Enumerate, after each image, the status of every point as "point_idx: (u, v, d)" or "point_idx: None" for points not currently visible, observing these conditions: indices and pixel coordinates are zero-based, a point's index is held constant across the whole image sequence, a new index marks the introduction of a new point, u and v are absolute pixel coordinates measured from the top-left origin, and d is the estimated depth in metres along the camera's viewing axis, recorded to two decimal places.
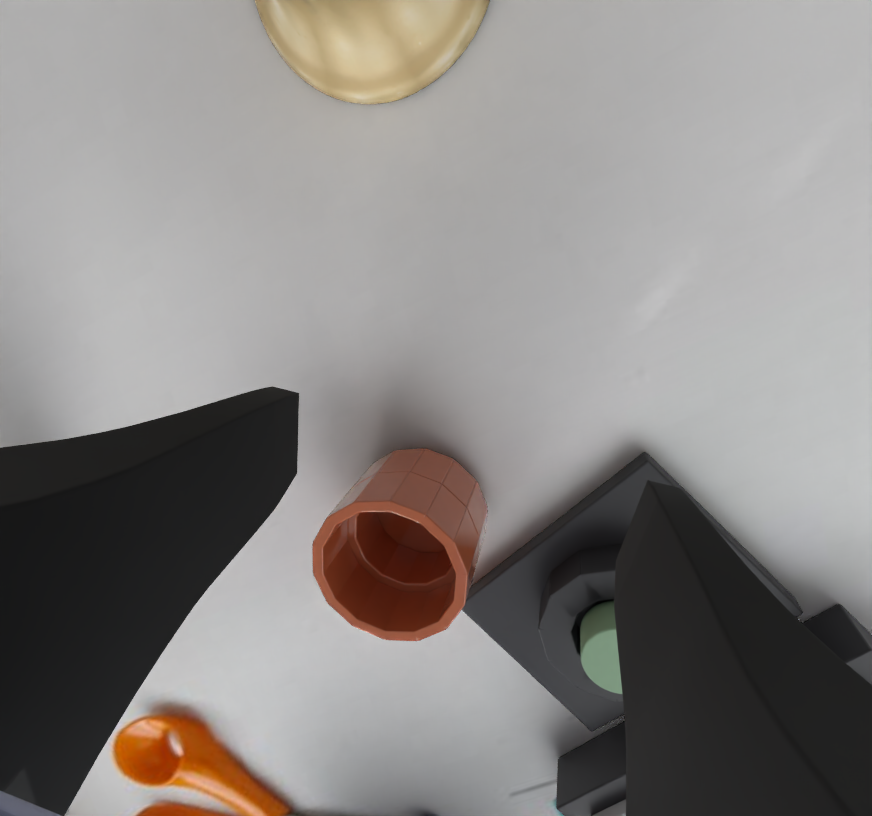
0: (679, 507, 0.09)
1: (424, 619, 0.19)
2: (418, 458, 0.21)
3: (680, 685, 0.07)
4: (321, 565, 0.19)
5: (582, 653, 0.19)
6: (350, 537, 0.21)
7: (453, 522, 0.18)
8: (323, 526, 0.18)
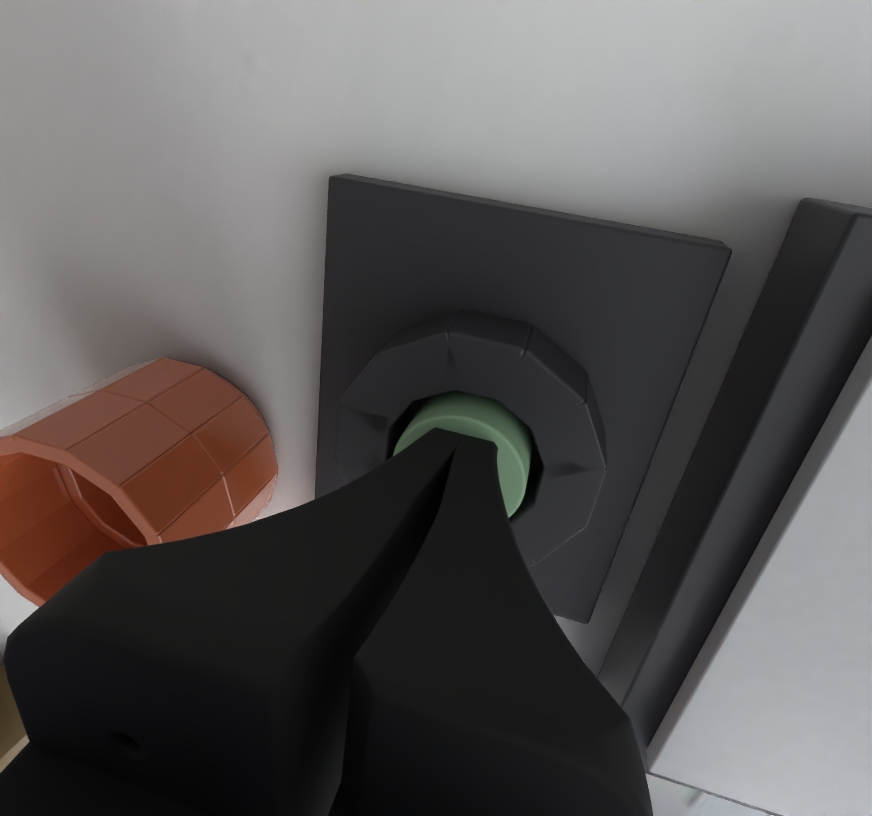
0: (472, 454, 0.10)
1: None
2: (103, 380, 0.14)
3: None
4: (13, 579, 0.13)
5: None
6: (97, 525, 0.15)
7: (87, 427, 0.11)
8: None
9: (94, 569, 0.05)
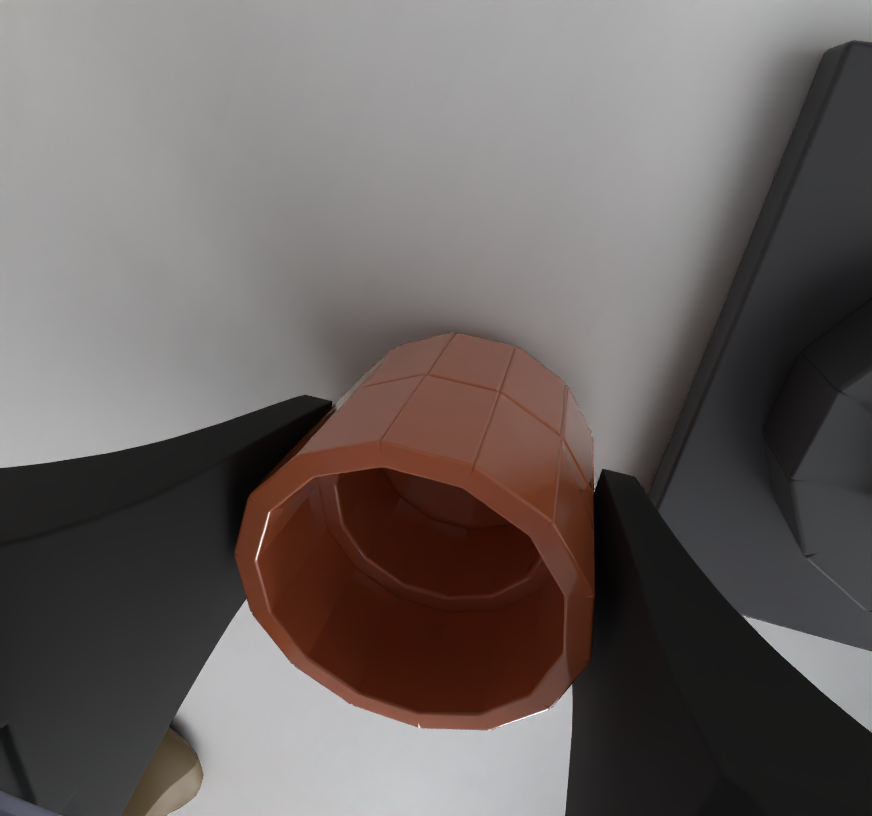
0: (627, 494, 0.09)
1: (541, 656, 0.09)
2: (383, 363, 0.10)
3: (613, 665, 0.07)
4: (293, 645, 0.09)
5: None
6: (357, 561, 0.11)
7: (466, 428, 0.07)
8: (242, 573, 0.09)
9: None
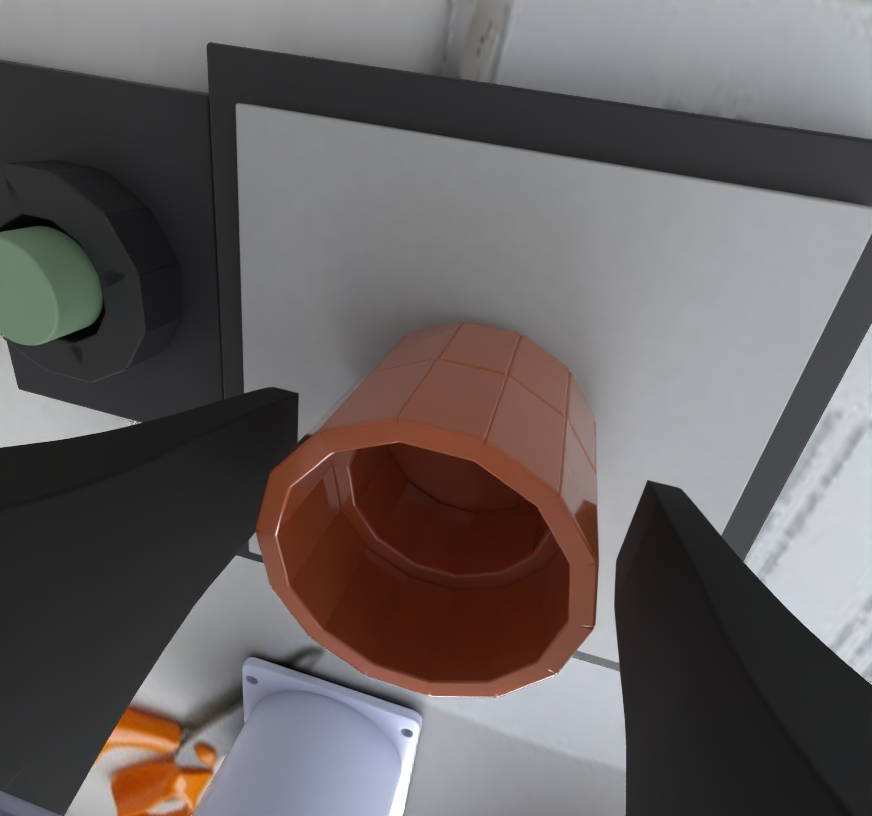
0: (679, 506, 0.09)
1: (547, 626, 0.09)
2: (394, 350, 0.11)
3: (680, 685, 0.07)
4: (310, 618, 0.10)
5: None
6: (369, 541, 0.12)
7: (477, 407, 0.08)
8: (262, 547, 0.09)
9: None
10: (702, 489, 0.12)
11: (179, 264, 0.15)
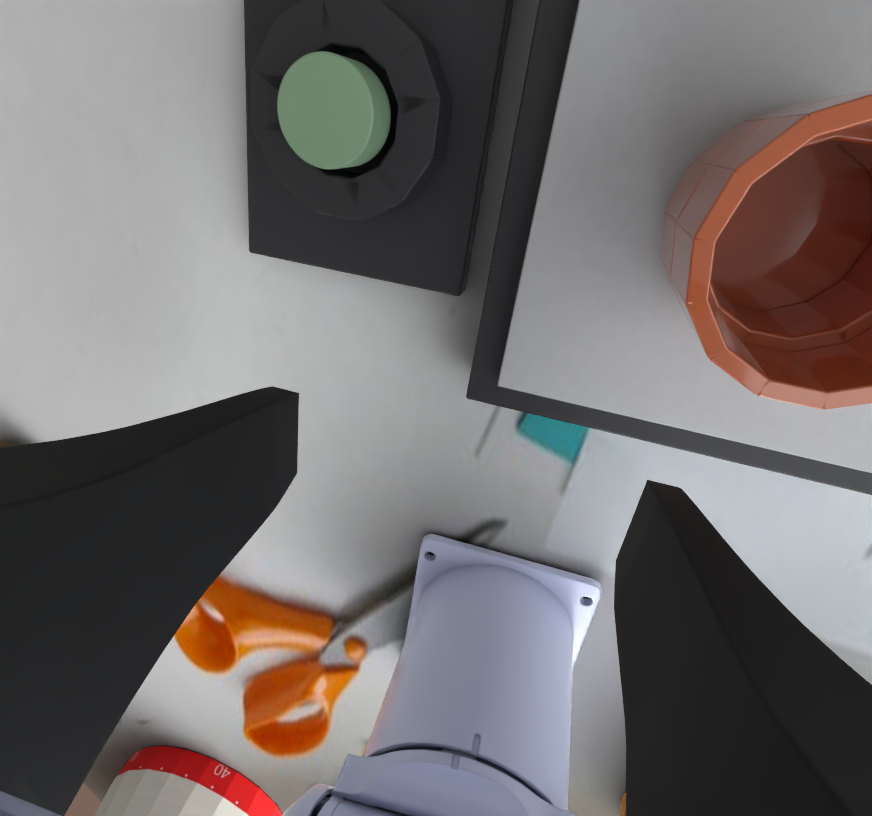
0: (679, 507, 0.09)
1: None
2: (752, 120, 0.12)
3: (680, 685, 0.07)
4: (719, 334, 0.11)
5: (287, 140, 0.15)
6: None
7: None
8: (693, 259, 0.10)
9: None
10: None
11: (454, 103, 0.16)
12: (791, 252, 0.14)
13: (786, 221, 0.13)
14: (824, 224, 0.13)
